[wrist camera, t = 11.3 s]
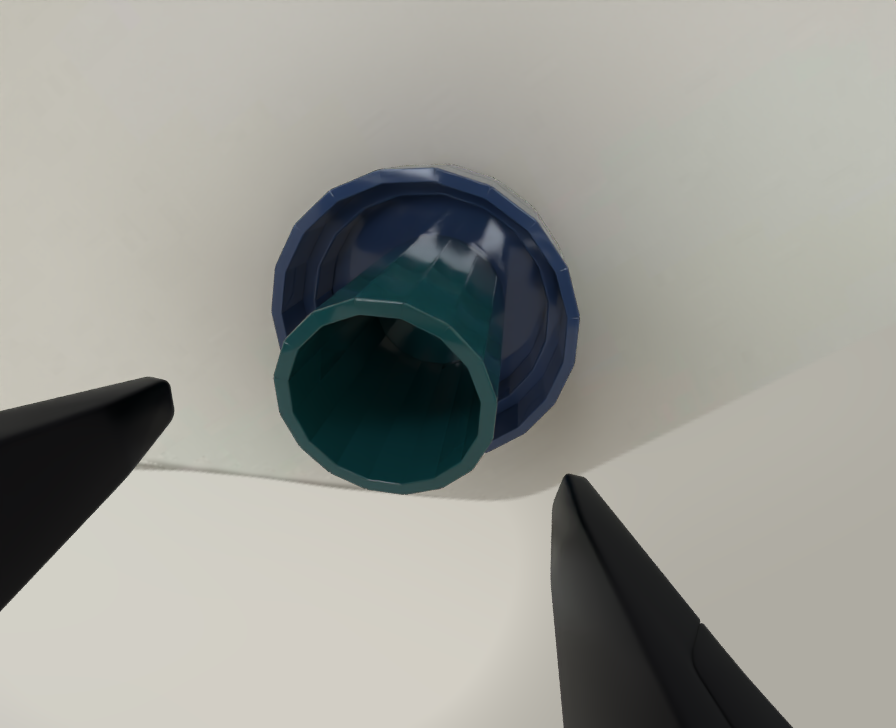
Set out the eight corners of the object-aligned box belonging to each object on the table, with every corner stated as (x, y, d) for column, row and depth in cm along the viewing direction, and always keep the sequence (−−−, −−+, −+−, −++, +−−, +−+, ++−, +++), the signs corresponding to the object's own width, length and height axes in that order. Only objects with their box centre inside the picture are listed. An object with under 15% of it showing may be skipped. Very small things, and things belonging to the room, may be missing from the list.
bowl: (590, 376, 19) (607, 429, 15) (378, 425, 22) (351, 479, 18) (526, 116, 15) (528, 105, 11) (275, 220, 17) (215, 238, 14)
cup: (521, 346, 18) (523, 475, 11) (402, 377, 19) (335, 507, 12) (480, 214, 16) (448, 266, 9) (349, 260, 17) (232, 338, 10)
